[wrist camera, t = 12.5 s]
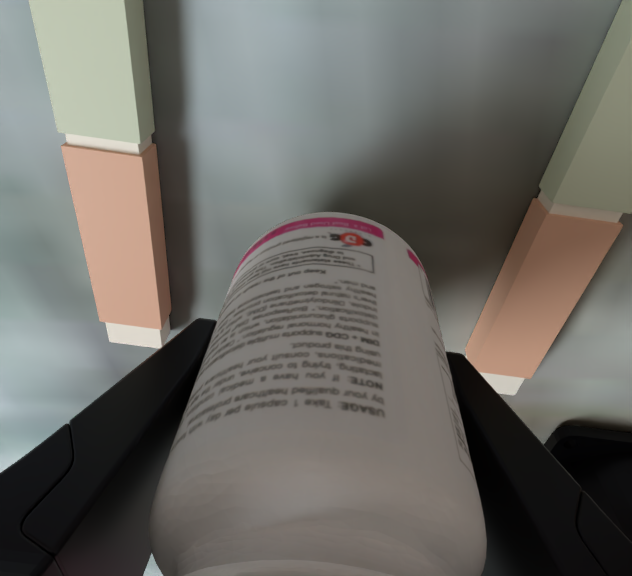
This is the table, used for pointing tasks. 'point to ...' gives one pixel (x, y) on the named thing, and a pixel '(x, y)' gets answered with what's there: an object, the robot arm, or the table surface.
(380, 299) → the pill bottle
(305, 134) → the table surface
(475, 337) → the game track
